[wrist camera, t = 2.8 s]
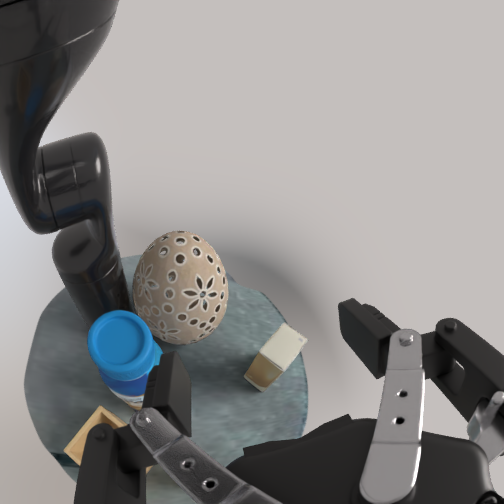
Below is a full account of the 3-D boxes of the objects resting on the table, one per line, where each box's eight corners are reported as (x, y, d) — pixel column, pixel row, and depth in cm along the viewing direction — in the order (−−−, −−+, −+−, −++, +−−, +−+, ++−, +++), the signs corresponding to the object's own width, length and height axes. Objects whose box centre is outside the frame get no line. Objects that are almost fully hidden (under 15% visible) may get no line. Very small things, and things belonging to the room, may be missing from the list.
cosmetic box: (264, 353, 45) (285, 319, 37) (283, 367, 44) (310, 338, 35) (241, 378, 41) (257, 350, 33) (261, 394, 40) (284, 371, 31)
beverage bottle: (184, 391, 38) (179, 340, 24) (148, 425, 32) (115, 400, 18) (146, 356, 40) (123, 287, 26) (111, 388, 35) (63, 334, 21)
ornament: (127, 307, 46) (106, 225, 31) (193, 276, 54) (199, 193, 40) (167, 374, 39) (154, 313, 25) (237, 332, 47) (264, 258, 33)
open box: (83, 453, 26) (63, 450, 20) (114, 414, 32) (100, 404, 27) (132, 492, 24) (120, 498, 18) (164, 450, 30) (158, 450, 25)
